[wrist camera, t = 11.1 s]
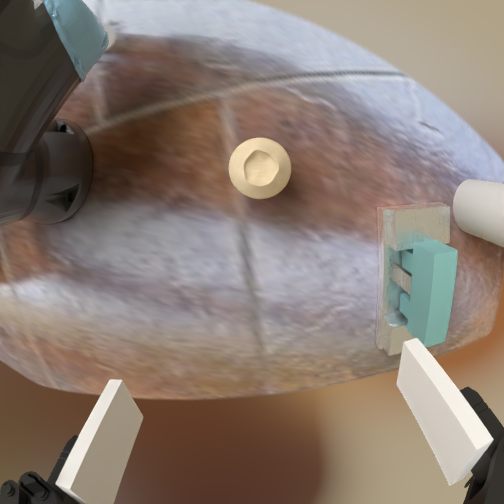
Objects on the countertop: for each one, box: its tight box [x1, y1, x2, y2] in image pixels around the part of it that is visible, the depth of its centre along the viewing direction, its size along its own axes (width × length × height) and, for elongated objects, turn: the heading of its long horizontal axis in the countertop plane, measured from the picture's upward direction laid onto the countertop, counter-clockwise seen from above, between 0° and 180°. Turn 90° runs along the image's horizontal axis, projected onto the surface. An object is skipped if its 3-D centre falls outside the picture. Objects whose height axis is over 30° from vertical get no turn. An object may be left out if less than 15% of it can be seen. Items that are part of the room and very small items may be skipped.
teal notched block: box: [399, 240, 458, 348], centre depth 31 cm, size 12×4×8 cm, turn 8°
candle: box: [229, 138, 291, 199], centre depth 28 cm, size 6×6×10 cm
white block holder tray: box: [375, 202, 450, 356], centre depth 34 cm, size 20×10×4 cm, turn 8°
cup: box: [453, 179, 504, 248], centre depth 27 cm, size 8×8×12 cm
